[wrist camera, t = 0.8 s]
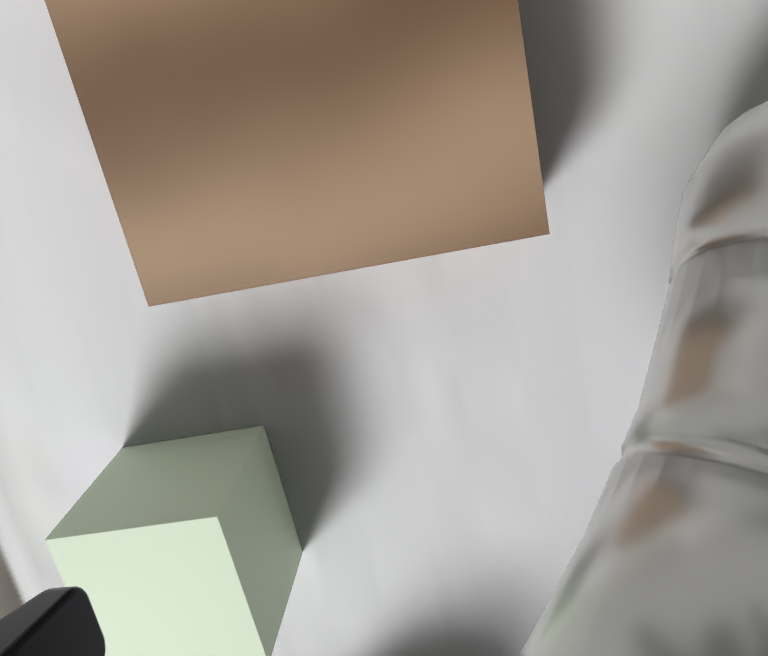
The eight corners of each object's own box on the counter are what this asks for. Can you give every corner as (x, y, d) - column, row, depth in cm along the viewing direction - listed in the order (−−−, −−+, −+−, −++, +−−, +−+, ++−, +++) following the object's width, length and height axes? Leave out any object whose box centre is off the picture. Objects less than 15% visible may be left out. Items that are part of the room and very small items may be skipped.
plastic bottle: (899, -30, 13) (456, 1464, 6) (1127, 179, 15) (975, 1606, 8) (656, 129, 19) (288, 991, 12) (835, 267, 21) (597, 1117, 14)
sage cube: (303, 550, 25) (268, 663, 20) (169, 567, 26) (107, 680, 21) (264, 424, 23) (217, 516, 19) (123, 446, 24) (44, 540, 20)
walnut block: (531, 200, 20) (549, 233, 17) (200, 263, 22) (148, 306, 18) (473, -215, 17) (478, -290, 13) (86, -107, 19) (-5, -146, 15)
